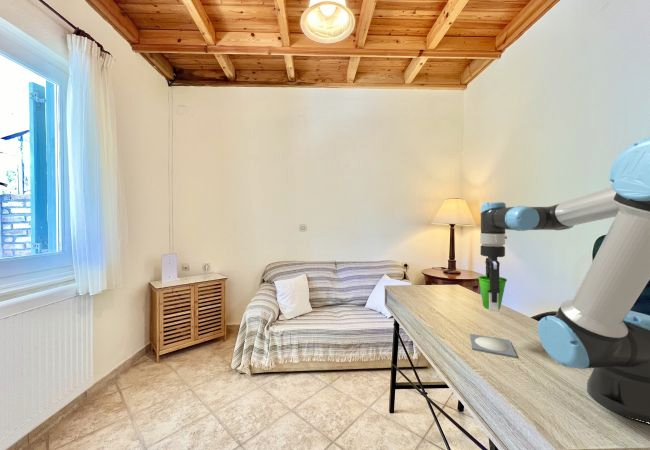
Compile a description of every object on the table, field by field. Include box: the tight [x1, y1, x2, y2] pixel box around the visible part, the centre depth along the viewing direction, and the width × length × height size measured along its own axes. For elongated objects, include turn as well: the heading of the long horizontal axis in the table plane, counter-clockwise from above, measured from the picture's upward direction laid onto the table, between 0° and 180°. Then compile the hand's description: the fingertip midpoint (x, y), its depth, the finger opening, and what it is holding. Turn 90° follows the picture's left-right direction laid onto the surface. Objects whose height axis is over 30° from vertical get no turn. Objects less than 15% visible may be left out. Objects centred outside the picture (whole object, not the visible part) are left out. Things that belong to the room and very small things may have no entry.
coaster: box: [469, 333, 518, 359], centre depth 97 cm, size 13×13×1 cm
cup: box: [477, 275, 508, 311], centre depth 96 cm, size 9×9×11 cm
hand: (491, 306), depth 96 cm, fingers closed on cup, 9 cm apart
